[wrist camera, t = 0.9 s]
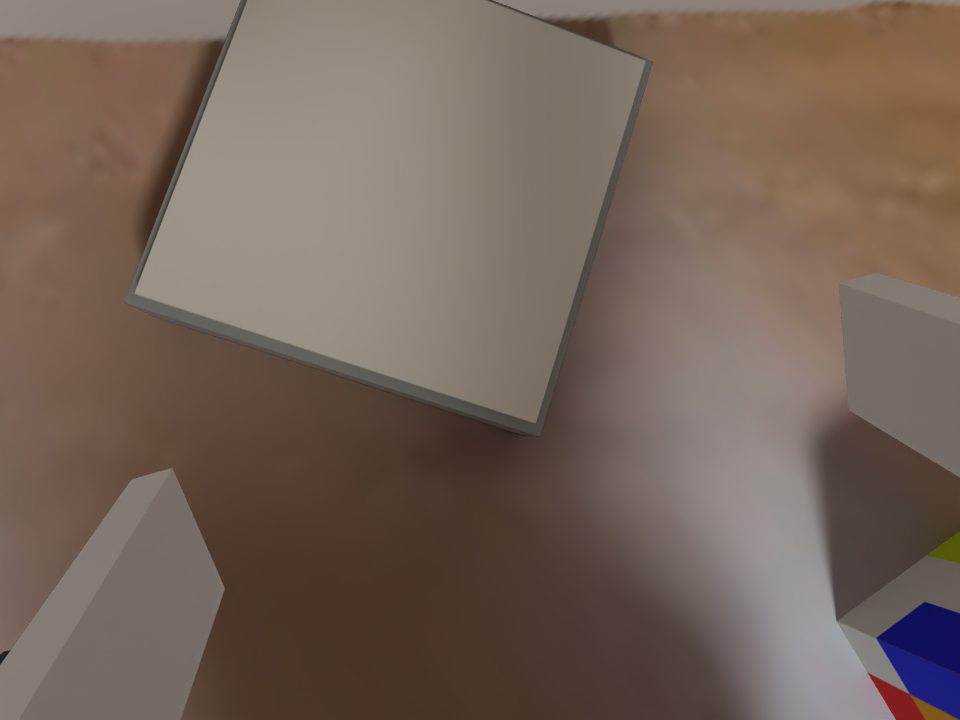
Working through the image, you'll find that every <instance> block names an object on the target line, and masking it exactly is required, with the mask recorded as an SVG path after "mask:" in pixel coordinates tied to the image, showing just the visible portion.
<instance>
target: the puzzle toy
mask: <svg viewBox="0 0 960 720" xmlns="http://www.w3.org/2000/svg"><path fill="white" fill-rule="evenodd" d="M837 623H838V624H839V626H840V628H841V629H842V631H843V633H844V634H845V636H846V638H847V639H848V641H849V643H850V644H851V646H852V648H853V649H854V651H855V653H856V654H857V656H858V657H859V659H860V661H861V662H862V664H863V666H864V667H865V669H866V671H867V672H868V674H869V676H870V677H871V679H872V681H873V682H874V684H875V686H876V687H877V689H878V691H879V692H880V694H881V696H882V697H883V699H884V700H885V702H886V704H887V705H888V707H889V709H890V710H891V712H892V714H893V715H894V717H895V719H896V720H960V531H959V532H958V533H956V534H955V535H954V536H952V537H951V538H949V539H948V540H947V541H945V542H944V543H943V544H941V545H940V546H938V547H937V548H936V549H934V550H933V551H932V552H930V553H929V554H928V555H926V556H925V557H923V558H922V559H921V560H919V561H918V562H917V563H915V564H914V565H912V566H911V567H910V568H908V569H907V570H906V571H904V572H903V573H902V574H900V575H899V576H897V577H896V578H895V579H893V580H892V581H891V582H889V583H888V584H886V585H885V586H884V587H882V588H881V589H880V590H878V591H877V592H876V593H874V594H873V595H871V596H870V597H869V598H867V599H866V600H865V601H863V602H862V603H860V604H859V605H858V606H856V607H855V608H854V609H852V610H851V611H850V612H848V613H847V614H845V615H844V616H843V617H841V618H840V619H839V620H837Z"/></svg>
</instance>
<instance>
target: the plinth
mask: <svg viewBox="0 0 960 720" xmlns="http://www.w3.org/2000/svg"><path fill="white" fill-rule="evenodd" d="M652 64H653V61H651V60H648V59H645V58H643V57H640V56H637V55H635V54H632V53H629V52H627V51H624V50H622V49H619V48H616V47H614V46H611V45H608V44H606V43H603V42H601V41H598V40H595V39H593V38H590V37H587V36H585V35H582V34H579V33H577V32H574V31H572V30H569V29H566V28H564V27H561V26H558V25H556V24H553V23H551V22H548V21H545V20H543V19H540V18H537V17H535V16H532V15H529V14H527V13H524V12H522V11H519V10H516V9H513V8H511V7H508V6H506V5H503V4H500V3H498V2H495V1H493V0H241V1H240V4H239V7H238V9H237V12H236V14H235V17H234V20H233V22H232V25H231V27H230V30H229V32H228V35H227V38H226V40H225V43H224V45H223V48H222V51H221V53H220V56H219V58H218V61H217V63H216V66H215V69H214V71H213V74H212V76H211V79H210V82H209V84H208V87H207V89H206V92H205V94H204V97H203V100H202V102H201V105H200V107H199V110H198V113H197V115H196V118H195V120H194V123H193V126H192V128H191V131H190V133H189V136H188V138H187V141H186V144H185V146H184V149H183V151H182V154H181V157H180V159H179V162H178V164H177V167H176V169H175V172H174V175H173V177H172V180H171V182H170V185H169V188H168V190H167V193H166V195H165V198H164V201H163V203H162V206H161V208H160V211H159V213H158V216H157V219H156V221H155V224H154V226H153V229H152V232H151V234H150V237H149V239H148V242H147V244H146V247H145V250H144V252H143V255H142V257H141V260H140V263H139V265H138V268H137V270H136V273H135V276H134V278H133V281H132V283H131V286H130V288H129V291H128V294H127V296H126V299H125V301H124V303H126V304H128V305H130V306H133V307H135V308H137V309H139V310H141V311H143V312H145V313H148V314H150V315H152V316H154V317H157V318H160V319H163V320H166V321H169V322H172V323H175V324H178V325H181V326H185V327H188V328H191V329H194V330H197V331H200V332H203V333H206V334H209V335H212V336H216V337H219V338H222V339H225V340H228V341H231V342H234V343H237V344H240V345H244V346H247V347H250V348H253V349H256V350H259V351H262V352H265V353H268V354H272V355H275V356H278V357H281V358H284V359H287V360H290V361H293V362H296V363H300V364H303V365H306V366H309V367H312V368H315V369H318V370H321V371H324V372H328V373H331V374H334V375H337V376H340V377H343V378H346V379H349V380H352V381H356V382H359V383H362V384H365V385H368V386H371V387H374V388H377V389H380V390H383V391H387V392H390V393H393V394H396V395H399V396H402V397H405V398H408V399H411V400H415V401H418V402H421V403H424V404H427V405H430V406H433V407H436V408H439V409H443V410H446V411H449V412H452V413H455V414H458V415H461V416H464V417H467V418H471V419H474V420H477V421H480V422H483V423H486V424H489V425H492V426H495V427H499V428H502V429H505V430H508V431H511V432H514V433H517V434H520V435H525V436H539V437H540V435H541V432H542V429H543V425H544V422H545V419H546V415H547V412H548V409H549V405H550V402H551V399H552V396H553V392H554V389H555V386H556V382H557V379H558V376H559V372H560V369H561V366H562V362H563V359H564V356H565V352H566V349H567V346H568V343H569V339H570V336H571V333H572V329H573V326H574V323H575V319H576V316H577V313H578V309H579V306H580V303H581V299H582V296H583V293H584V289H585V286H586V283H587V280H588V276H589V273H590V270H591V266H592V263H593V260H594V256H595V253H596V250H597V246H598V243H599V240H600V236H601V233H602V230H603V227H604V223H605V220H606V217H607V213H608V210H609V207H610V203H611V200H612V197H613V193H614V190H615V187H616V183H617V180H618V177H619V174H620V170H621V167H622V164H623V160H624V157H625V154H626V150H627V147H628V144H629V140H630V137H631V134H632V130H633V127H634V124H635V120H636V117H637V114H638V111H639V107H640V104H641V101H642V97H643V94H644V91H645V87H646V84H647V81H648V77H649V74H650V71H651V67H652Z"/></svg>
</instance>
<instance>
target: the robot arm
mask: <svg viewBox="0 0 960 720" xmlns="http://www.w3.org/2000/svg"><path fill="white" fill-rule="evenodd" d="M839 292H840V305H841V319H842V332H843V345H844V358H845V372H846V385H847V398H848V410H849V411H851V412H852V413H854V414H856V415H857V416H859V417H861V418H862V419H864V420H866V421H867V422H869V423H871V424H872V425H874V426H875V427H877V428H879V429H880V430H882V431H884V432H885V433H887V434H889V435H890V436H892V437H894V438H895V439H897V440H899V441H900V442H902V443H904V444H905V445H907V446H909V447H910V448H912V449H913V450H915V451H917V452H918V453H920V454H922V455H923V456H925V457H927V458H928V459H930V460H932V461H933V462H935V463H937V464H938V465H940V466H942V467H943V468H945V469H946V470H948V471H950V472H951V473H953V474H955V475H956V476H958V477H960V298H959V297H956V296H953V295H949V294H946V293H942V292H939V291H936V290H932V289H929V288H925V287H922V286H919V285H915V284H912V283H908V282H905V281H902V280H898V279H895V278H892V277H888V276H885V275H881V274H878V273H874V274H870V275H866V276H863V277H859V278H856V279H852V280H848V281H845V282H841V283H839ZM224 590H225V587H224V585H223V583H222V581H221V578H220V576H219V574H218V571H217V569H216V567H215V565H214V562H213V560H212V558H211V555H210V553H209V551H208V549H207V546H206V544H205V542H204V539H203V537H202V535H201V532H200V530H199V528H198V526H197V523H196V521H195V519H194V516H193V514H192V512H191V510H190V507H189V505H188V503H187V500H186V498H185V496H184V493H183V491H182V489H181V487H180V484H179V482H178V480H177V477H176V475H175V473H174V471H173V468H171V469H167V470H163V471H160V472H156V473H153V474H149V475H145V476H142V477H138V478H134V479H131V481H130V482H129V484H128V485H127V487H126V488H125V489H124V491H123V492H122V494H121V495H120V496H119V498H118V499H117V501H116V502H115V503H114V505H113V506H112V508H111V509H110V511H109V512H108V513H107V515H106V516H105V518H104V519H103V520H102V522H101V523H100V525H99V526H98V528H97V529H96V530H95V532H94V533H93V535H92V536H91V537H90V539H89V540H88V542H87V543H86V545H85V546H84V547H83V549H82V550H81V552H80V553H79V554H78V556H77V557H76V559H75V560H74V561H73V563H72V564H71V566H70V567H69V569H68V570H67V571H66V573H65V574H64V576H63V577H62V578H61V580H60V581H59V583H58V584H57V586H56V587H55V588H54V590H53V591H52V593H51V594H50V595H49V597H48V598H47V600H46V601H45V603H44V604H43V605H42V607H41V608H40V610H39V611H38V612H37V614H36V615H35V617H34V618H33V619H32V621H31V622H30V624H29V625H28V627H27V628H26V629H25V631H24V632H23V634H22V635H21V636H20V638H19V639H18V641H17V642H16V644H15V645H14V646H13V648H12V649H11V650H9V651H5V652H3V653H2V654H1V655H0V720H181V718H182V715H183V712H184V709H185V706H186V703H187V700H188V697H189V694H190V691H191V688H192V685H193V682H194V679H195V676H196V673H197V670H198V667H199V664H200V661H201V658H202V655H203V652H204V649H205V646H206V643H207V640H208V637H209V635H210V632H211V629H212V626H213V623H214V620H215V617H216V614H217V611H218V608H219V605H220V602H221V599H222V596H223V593H224Z"/></svg>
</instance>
